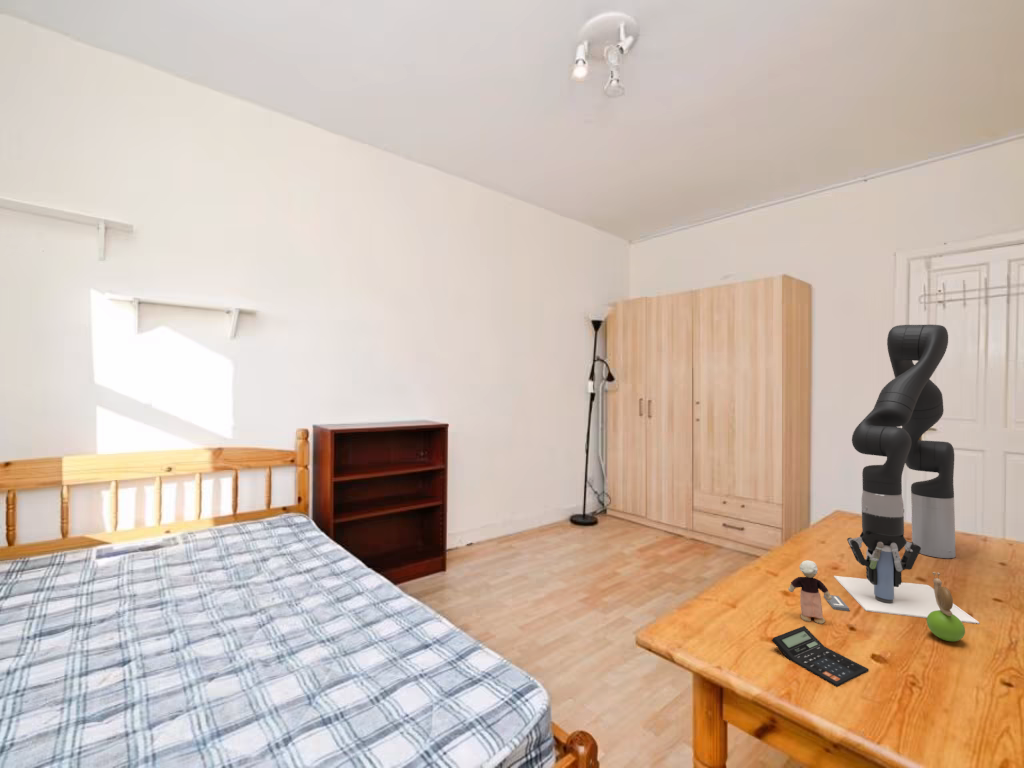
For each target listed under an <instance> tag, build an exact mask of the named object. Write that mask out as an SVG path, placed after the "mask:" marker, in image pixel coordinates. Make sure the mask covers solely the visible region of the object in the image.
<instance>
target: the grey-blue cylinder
mask: <svg viewBox="0 0 1024 768" xmlns="http://www.w3.org/2000/svg"><path fill="white" fill-rule="evenodd" d="M875 569H876V570H877V585H874V595H875V599H876V600H878V601H880V602H883V603H889V604H891V603H893V599H894V562H893V556H892V550H891V547H890V546H887V545H883V549H882V550H881V554H880V558H879V560H878V561H877V564H876V568H875Z"/></svg>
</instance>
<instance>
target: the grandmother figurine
mask: <svg viewBox="0 0 1024 768" xmlns="http://www.w3.org/2000/svg"><path fill="white" fill-rule="evenodd" d="M818 569H819V568H818V565H817V563H815V562H814V561H813V560H808V559H807V560H803V561H802V562H801V563H800V564H799V571H801V573H802V574H803V576H798V577H796V578H794V579H793V580H792V581H791V582H790V585H789V587H788V591H789V592H790V593H793V592H794V591H795V589H797V588H800V594H799V595H800V597H799V599H800V611H801V614H800V618H801V619H802V620H803V621H804V622H812V618H813V621H814V623H817V624H824V623H825V622H826V619H825V618H824V616H823V605H822V598H821V593H820V591H821V592H822V594H823V596H824V595H825V596H826V599H827V600H831V599H832V597H831V596H830V595H831V594H830V592H829V589H828V588H827V586H826V585H825V584H824V582H822V581H821V580H819V579H818V578H816V575H817V574H818ZM826 599H825V600H826ZM827 600H826V601H827Z"/></svg>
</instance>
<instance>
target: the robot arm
mask: <svg viewBox="0 0 1024 768" xmlns="http://www.w3.org/2000/svg"><path fill="white" fill-rule="evenodd" d="M948 333H949V332H948V329H947V328H946V327H945V326H944V325H941V324H900V325H898V324H897V325H895V326H893V327H891V328H890V329H889V331H888V335H887V339H886V347H887V351H888V353H887V354H888V357H889V361H890V363H891V368H892V371H893V375H894V378H892V380H890V381H889V382H888V383H886V385H885V386H883V388H882V389H881V391H880V392H879V395H878V397H877V398H876V399H877V400H876V401H875V404H874V406H873V409H872V410H871V411H870V412H869V413H868V414H867V415H866V416H865V417H864V418H863V419H862V421H861V422H859V424H858V425H857V426H856V427H855V429H854V431H853V432H852V437H851V443H852V446H853V448H854V449H855V451H857V452H858V453H860V454H862V455H867V456H868V455H870V456H879V457H886V460H885V462H884V463H883V464H871V465H866V466H864V467H863V469H862V472H861V474H862V477H861V478H862V479H861V481H862V494H861V528H862V529H861V530H862V531H861V534H860V535H859V536H858V537H853V538H852V537H847V539H846V540H847V543H848V545H849V547H850V549H851V552H852V553H853V557H854V558H855V560H856V561H857V562H858V563H859V564H860V565H861V566H862V567H863V566H865V569H866V570H865V574H866V576H865V577H866V579H868V580H869V581H870V582H871V583H872V584H873V585H877V570H876V569H875V568H876V564H877V561H878V560H879V558H880V554H881V550H882V549H883V545H887V546H890V547H891V550H892V556H893V562H894V587H899V585H901V583H902V572H903V571H905V570H909V571H910V570H912V569H913V566H914V565H915V562H916V560H917V558H918V556H919V554H921V555H924V556H929V557H933V558H941V559H954V558H955V557H956V518H955V517H956V516H955V515H956V514H955V491H954V490H955V489H954V471H955V449H954V447H953V445H952V443H951V442H948V441H940V440H939V441H938V440H936V441H935V440H923V439H922V440H921V439H920V438H921V437H922V436H923V434H925V433H926V432H927V431H928V430H930V429H931V428H932V427H933V426H935V425H936V423H938V422H939V421H940V419H941V418H942V417H943V415H944V399H943V398H944V397H943V393H942V391H941V389H940V388H939V387H938V386H937V385H936V383H934V382H933V381H932V380H931V377H932V375H933V374H934V373H935V371H936V370H937V368H938V367H939V365H940V363H941V362H942V359H943V358H944V357H945V354H946V352H947V349H948V345H949V334H948ZM914 361H917V362H916V363H914ZM905 466H906V467H907V468H908V469H909V470H912V471H918V472H928V473H937V474H938V475H937V476H936V477H934V478H931V479H927V480H921V481H916V482H913V483H912V484H911V485H910V492H911V493H910V495H911V496H910V497H911V500H910V501H911V541H907V539H906V537H905V536H904V535H905V518H904V516H905V509H904V508H905V507H904V500H903V494H902V493H903V490H902V489H903V487H902V485H903V483H902V479H903V472H904V469H905ZM862 543H863V544H864V545H865V546H866V552H865V554H866V556H865V557H864V553H863V552H862V550H861V548H862ZM903 548H904V553H903V555H902V557H901V556H900V553H899V552H901V550H902V549H903Z"/></svg>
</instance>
